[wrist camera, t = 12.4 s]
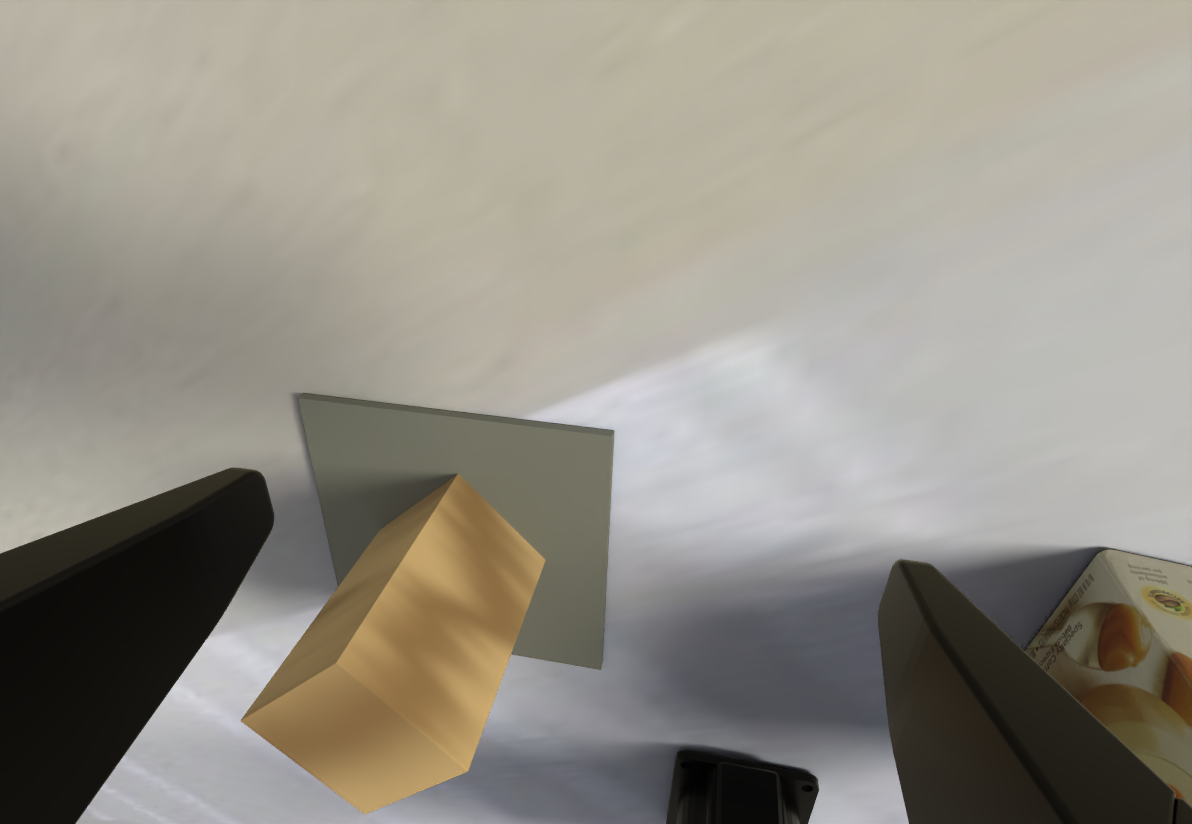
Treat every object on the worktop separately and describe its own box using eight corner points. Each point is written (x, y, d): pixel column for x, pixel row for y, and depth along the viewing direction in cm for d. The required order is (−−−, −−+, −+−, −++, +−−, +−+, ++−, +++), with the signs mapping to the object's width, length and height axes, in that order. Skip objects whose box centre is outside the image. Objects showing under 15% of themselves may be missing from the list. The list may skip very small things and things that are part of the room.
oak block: (545, 559, 27) (467, 771, 19) (464, 607, 29) (364, 814, 21) (458, 473, 25) (335, 662, 18) (379, 530, 27) (240, 720, 20)
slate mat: (602, 662, 29) (600, 669, 29) (351, 619, 31) (346, 625, 31) (614, 430, 24) (612, 436, 23) (303, 393, 25) (297, 398, 25)
